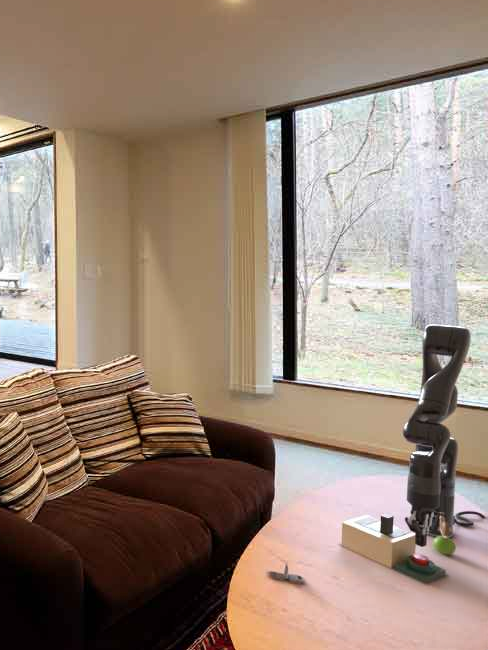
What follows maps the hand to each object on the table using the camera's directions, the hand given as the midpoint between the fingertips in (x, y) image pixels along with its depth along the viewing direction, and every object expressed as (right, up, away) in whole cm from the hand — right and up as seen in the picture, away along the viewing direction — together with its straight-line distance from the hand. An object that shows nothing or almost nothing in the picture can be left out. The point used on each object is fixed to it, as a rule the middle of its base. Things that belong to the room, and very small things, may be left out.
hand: (420, 545), depth 159 cm
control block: (0, -8, 0) cm, 8 cm away
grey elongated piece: (-40, -9, -1) cm, 42 cm away
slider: (-4, 0, +8) cm, 9 cm away
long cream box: (-4, -7, +12) cm, 15 cm away
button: (0, -5, 0) cm, 5 cm away
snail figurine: (+16, -7, +11) cm, 21 cm away
